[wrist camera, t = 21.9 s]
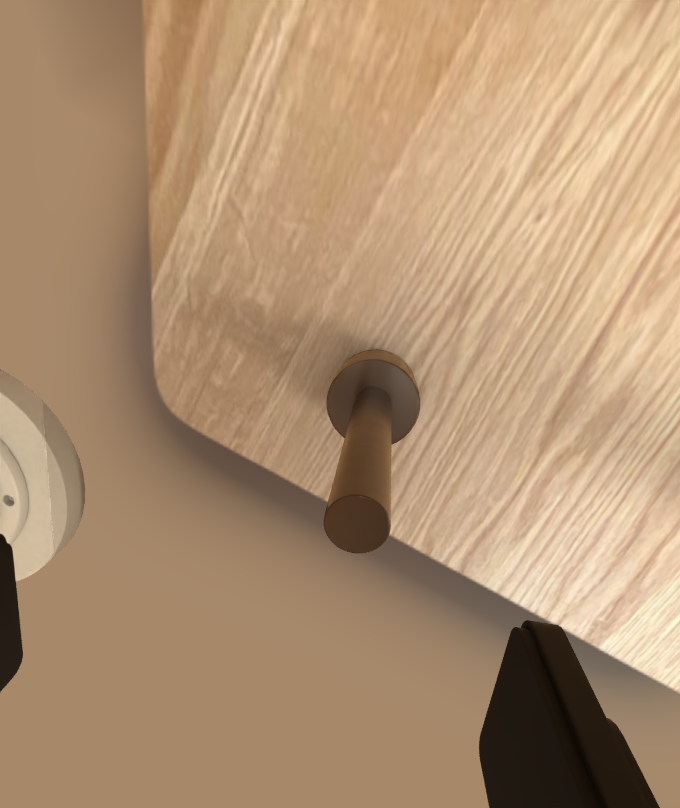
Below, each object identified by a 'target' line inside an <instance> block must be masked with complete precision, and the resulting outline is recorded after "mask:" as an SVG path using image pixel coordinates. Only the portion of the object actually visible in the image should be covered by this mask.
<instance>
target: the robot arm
mask: <svg viewBox="0 0 680 808" xmlns="http://www.w3.org/2000/svg"><path fill="white" fill-rule="evenodd" d="M28 507H29V506H28V491H27V487H26V483H25V479H24V476H23V474H22V472H21V469H20V467H19V465H18V462H17V461H16V459H15V458H14V456H13V455H12V453H11V452H10V450H9V448H8V447H7V446H6V445H5V444H4V443H3V442H2V440H1V439H0V691H1V690H2V689H3V688H4V687H5V686H6V685H7V684H8V683H9V681H10V680H11V679H12V678H13V676H14V675H15V674H16V673H17V671H18V669H19V667H20V664H21V662H22V658H23V650H22V640H21V630H20V620H19V610H18V600H17V589H16V579H15V569H14V559H13V550H12V546H11V545H10V544H11V543H12V542H13V541H14V540H15V539H16V538H17V536H18V535H19V534H20V533H21V531H22V529H23V527H24V524H25V522H26V519H27V513H28ZM479 754H480V762H481V767H482V771H483V777H484V782H485V787H486V793H487V798H488V803H489V808H660V807H659V806H658V804H657V802H656V800H655V798H654V796H653V794H652V792H651V790H650V788H649V786H648V784H647V782H646V780H645V778H644V776H643V774H642V772H641V770H640V768H639V766H638V764H637V762H636V760H635V758H634V756H633V754H632V752H631V750H630V748H629V746H628V744H627V742H626V740H625V738H624V736H623V735H622V733H621V731H620V730H619V728H618V727H617V725H616V724H615V723H614V722H612V721H611V720H610V719H608V718H606V716H605V714H604V712H603V710H602V708H601V706H600V704H599V702H598V700H597V698H596V696H595V694H594V692H593V690H592V688H591V686H590V684H589V682H588V679H587V677H586V676H585V673H584V671H583V669H582V667H581V665H580V663H579V661H578V659H577V657H576V655H575V653H574V651H573V649H572V647H571V645H570V643H569V641H568V638H567V637H566V634H565V632H564V631H563V629H562V628H561V627H560V626H558V625H553V624H547V623H540V622H534V621H528V620H527V621H525V622H524V623H523V624H522V626H521V628H517V627H515V628H513V629H512V631H511V634H510V637H509V640H508V644H507V647H506V651H505V654H504V657H503V661H502V664H501V668H500V671H499V674H498V677H497V681H496V684H495V688H494V691H493V694H492V697H491V701H490V704H489V708H488V711H487V714H486V718H485V721H484V725H483V728H482V731H481V735H480V741H479Z"/></svg>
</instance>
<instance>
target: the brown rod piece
mask: <svg viewBox="0 0 680 808" xmlns="http://www.w3.org/2000/svg"><path fill="white" fill-rule="evenodd" d="M327 410H328V415H329V418H330V420H331V422H332V424H333V426H334V427H335V429H336V430H337V431H338V432H339V433H340V435H342V436H343V437H344V438H345V440H344V444H343V447H342V451H341V455H340V459H339V463H338V466H337V470H336V474H335V478H334V482H333V485H332V489H331V493H330V497H329V501H328V505H327V509H326V512H325V516H324V528H325V531H326V533H327V536H328V537H329V539H330V540H331V541H332V542H333V543H334V544H335V545H336V546H337V547H339V548H340V549H342V550H345V551H347V552H351V553H366V552H370V551H373V550H375V549H377V548H378V547H380V546H381V545H382V544H383V543H384V542H385V541H386V539H387V537H388V535H389V532H390V527H391V445H392V444H394V443H396V442H398V441H400V440H401V439H402V438H404V437H405V436H406V435H407V434H408V433H409V432H410V431H411V429H412V428H413V427H414V425H415V423H416V421H417V418H418V415H419V410H420V398H419V392H418V388H417V384H416V382H415V380H414V377H413V374H412V372H411V370H410V369H409V367H408V366H407V364H406V363H405V362H404V361H403V360H402V359H400V358H399V357H397V356H396V355H394V354H392V353H389V352H387V351H382V350H368V351H364V352H361V353H358V354H356V355H354V356H353V357H351V358H350V359H349V360H348V361H346V363H345V364H344V365H343V366H342V368H341V369H340V370H339V372H338V373H337V374H336V376H335V378H334V380H333V382H332V384H331V386H330V388H329V391H328V396H327Z"/></svg>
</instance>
